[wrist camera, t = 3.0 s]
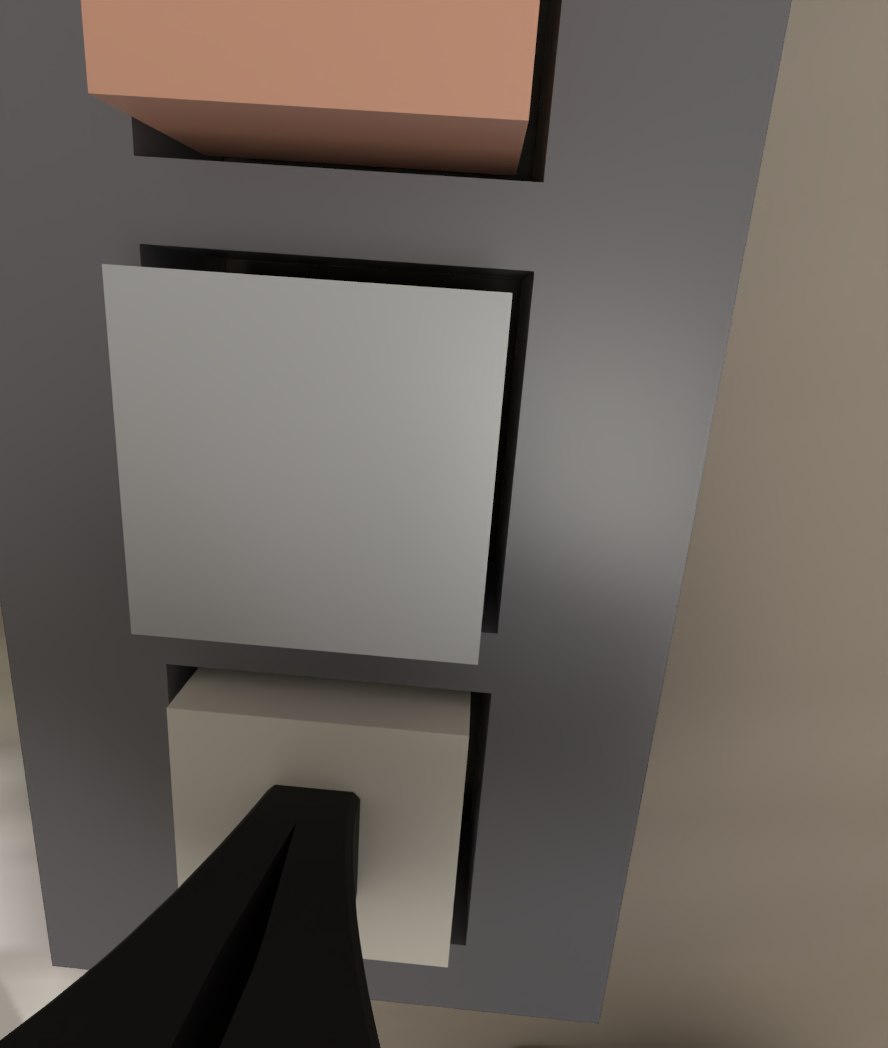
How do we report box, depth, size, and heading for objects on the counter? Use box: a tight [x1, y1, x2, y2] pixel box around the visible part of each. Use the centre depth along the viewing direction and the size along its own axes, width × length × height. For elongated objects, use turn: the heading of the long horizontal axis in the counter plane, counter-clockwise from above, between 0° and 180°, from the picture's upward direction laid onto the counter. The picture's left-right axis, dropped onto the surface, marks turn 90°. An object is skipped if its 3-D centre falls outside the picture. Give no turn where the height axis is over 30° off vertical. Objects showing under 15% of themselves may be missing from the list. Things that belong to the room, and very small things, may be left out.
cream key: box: [167, 667, 471, 968], centre depth 12 cm, size 4×4×3 cm
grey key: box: [102, 264, 513, 665], centre depth 9 cm, size 4×4×3 cm
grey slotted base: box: [0, 0, 792, 1024], centre depth 11 cm, size 20×10×3 cm, turn 176°
